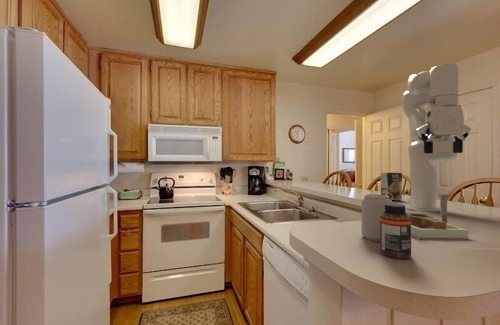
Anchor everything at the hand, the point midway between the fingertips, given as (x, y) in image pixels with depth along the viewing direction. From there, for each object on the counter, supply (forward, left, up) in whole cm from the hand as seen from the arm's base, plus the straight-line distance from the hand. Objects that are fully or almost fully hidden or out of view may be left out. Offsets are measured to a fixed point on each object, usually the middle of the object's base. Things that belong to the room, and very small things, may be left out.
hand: (443, 153), depth 81 cm
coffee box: (-57, +16, -25) cm, 64 cm away
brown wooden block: (+9, -13, -24) cm, 29 cm away
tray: (+8, -13, -24) cm, 29 cm away
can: (+16, -30, -25) cm, 42 cm away
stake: (0, 0, -24) cm, 24 cm away
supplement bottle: (+28, -32, -25) cm, 49 cm away
